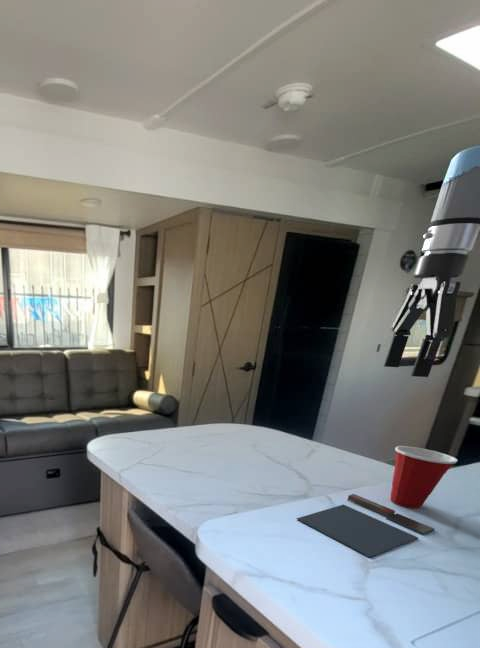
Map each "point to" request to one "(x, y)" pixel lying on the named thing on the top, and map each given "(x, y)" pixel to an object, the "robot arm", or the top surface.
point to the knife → (391, 515)
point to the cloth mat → (357, 530)
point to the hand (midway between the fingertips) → (404, 371)
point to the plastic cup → (417, 474)
